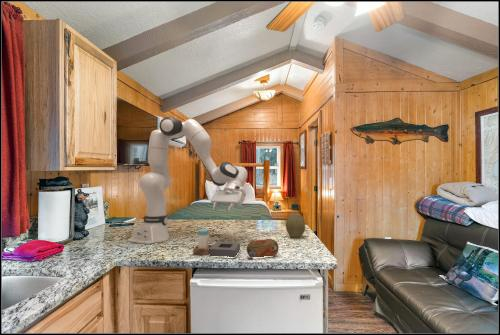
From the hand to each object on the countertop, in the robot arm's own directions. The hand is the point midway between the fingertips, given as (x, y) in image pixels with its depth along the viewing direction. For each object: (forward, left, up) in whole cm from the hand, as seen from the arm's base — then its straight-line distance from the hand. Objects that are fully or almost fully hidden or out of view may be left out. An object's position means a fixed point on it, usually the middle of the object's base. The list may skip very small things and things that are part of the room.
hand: (220, 210), depth 134 cm
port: (+6, -12, -19) cm, 23 cm away
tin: (+24, -14, -19) cm, 33 cm away
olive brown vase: (+40, +24, -19) cm, 50 cm away
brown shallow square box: (-5, -12, -19) cm, 23 cm away
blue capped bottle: (-5, -12, -19) cm, 23 cm away
